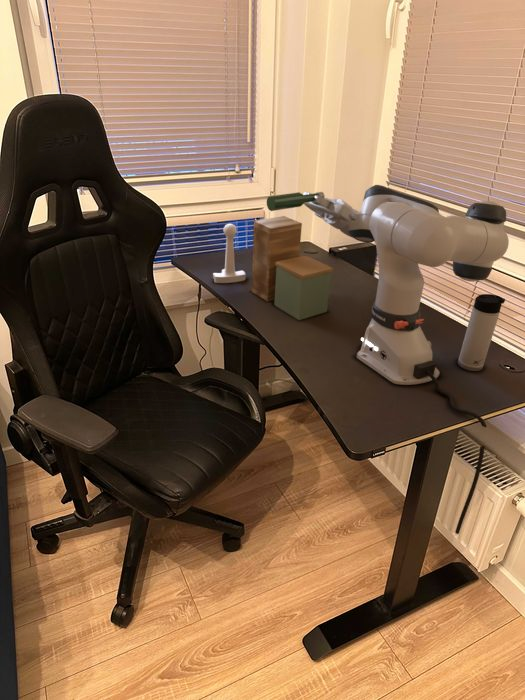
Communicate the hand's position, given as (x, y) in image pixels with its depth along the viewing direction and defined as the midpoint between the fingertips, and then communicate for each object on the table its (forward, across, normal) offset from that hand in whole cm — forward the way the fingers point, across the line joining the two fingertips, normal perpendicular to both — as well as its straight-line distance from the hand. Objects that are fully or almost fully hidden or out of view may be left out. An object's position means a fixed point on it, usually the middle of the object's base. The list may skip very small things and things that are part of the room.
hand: (311, 196), depth 161 cm
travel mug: (-19, -65, -25) cm, 72 cm away
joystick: (+2, +18, -36) cm, 41 cm away
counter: (-4, -14, -33) cm, 36 cm away
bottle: (+4, 0, -5) cm, 7 cm away
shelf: (-4, 0, -33) cm, 33 cm away
